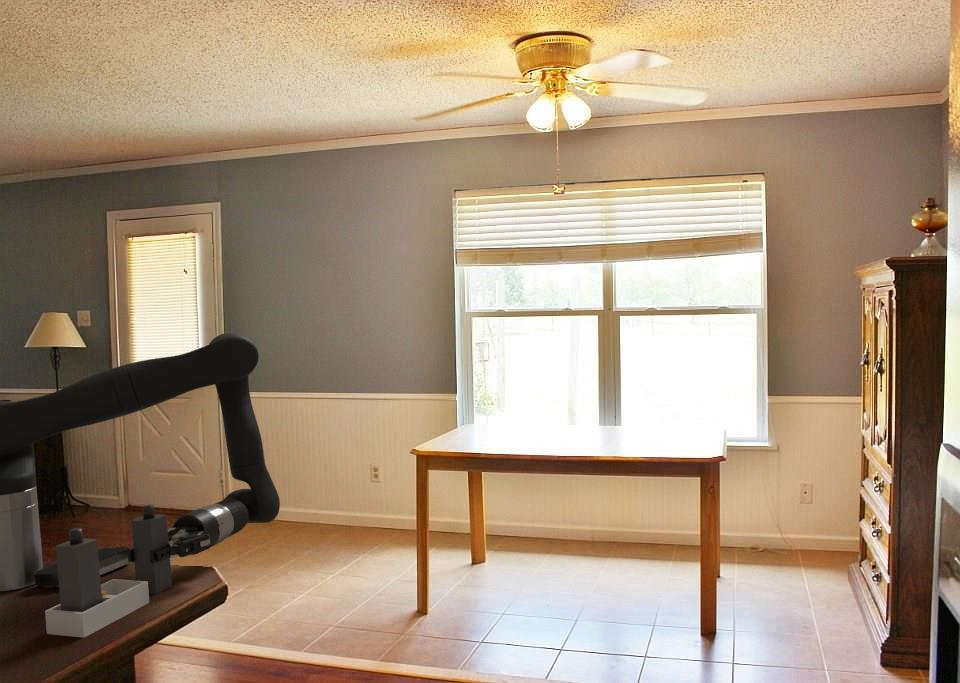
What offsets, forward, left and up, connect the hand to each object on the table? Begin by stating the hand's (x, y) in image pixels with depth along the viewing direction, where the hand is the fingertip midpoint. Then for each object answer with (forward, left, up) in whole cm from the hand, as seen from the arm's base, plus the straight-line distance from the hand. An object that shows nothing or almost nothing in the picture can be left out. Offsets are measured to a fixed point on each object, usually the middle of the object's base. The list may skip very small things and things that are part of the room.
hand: (140, 557), depth 138 cm
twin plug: (-6, -12, -7) cm, 15 cm away
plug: (+1, +2, -7) cm, 8 cm away
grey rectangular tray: (-4, -9, -7) cm, 12 cm away
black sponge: (-14, +16, -8) cm, 23 cm away
